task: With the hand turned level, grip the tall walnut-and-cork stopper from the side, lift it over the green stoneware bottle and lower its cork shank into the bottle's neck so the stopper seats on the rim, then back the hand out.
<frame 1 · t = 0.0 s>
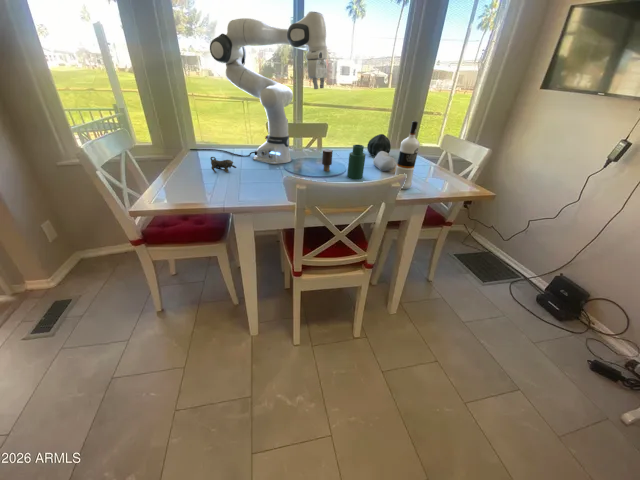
hand: (319, 88, 136), 39 cm above the table, tool pointing down, fingers open, 8 cm apart
vodka: (400, 186, 134), on the table
bottle: (354, 177, 143), on the table
dog figurine: (224, 171, 141), on the table
decorative stone: (384, 168, 158), on the table
stopper: (326, 170, 150), on the table
squash: (377, 156, 181), on the table
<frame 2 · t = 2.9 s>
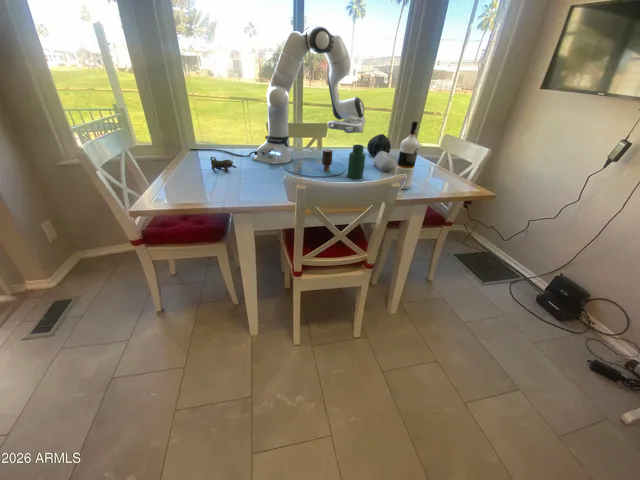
hand: (339, 128, 148), 20 cm above the table, tool horizontal, fingers open, 8 cm apart
nothing on the table moved.
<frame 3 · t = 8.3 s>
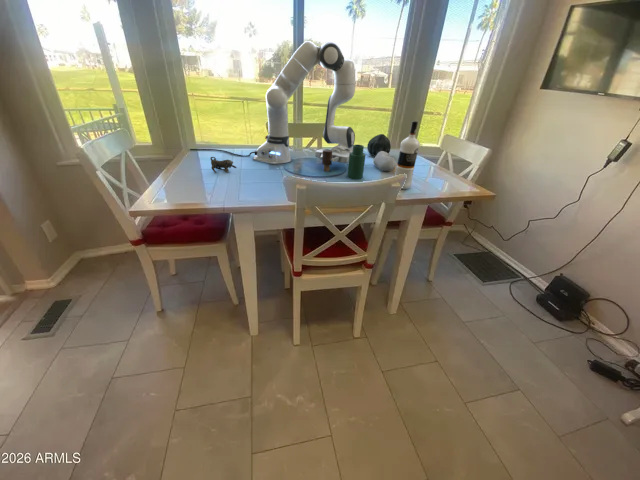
hand: (326, 159, 145), 7 cm above the table, tool horizontal, fingers closed on stopper, 5 cm apart
stopper: (326, 170, 150), on the table, touching gripper
everything else where it was.
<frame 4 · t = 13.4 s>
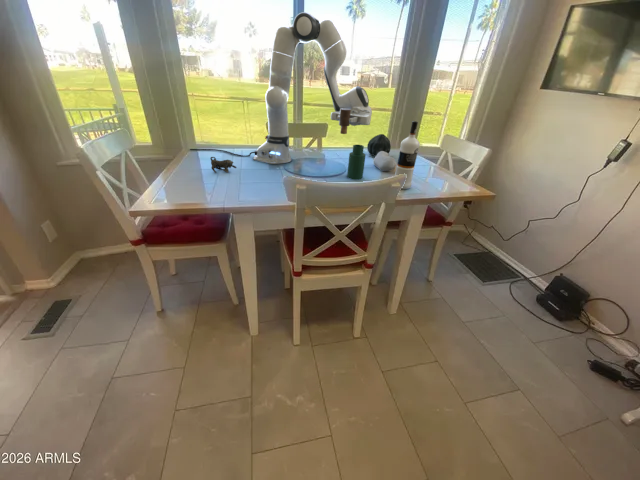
hand: (344, 119, 131), 27 cm above the table, tool horizontal, fingers closed on stopper, 5 cm apart
stopper: (343, 133, 135), point 21 cm above the table, touching gripper
everything else where it was.
when the fingers open (19 cm above the table, at t = 18.3 s): stopper stays where it is, resting on bottle.
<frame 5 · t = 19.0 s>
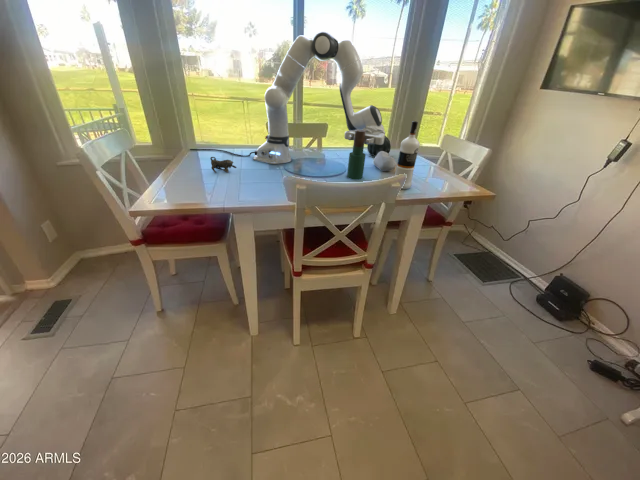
hand: (358, 139, 132), 19 cm above the table, tool horizontal, fingers open, 8 cm apart
stopper: (357, 153, 136), point 12 cm above the table, touching bottle
everything else where it was.
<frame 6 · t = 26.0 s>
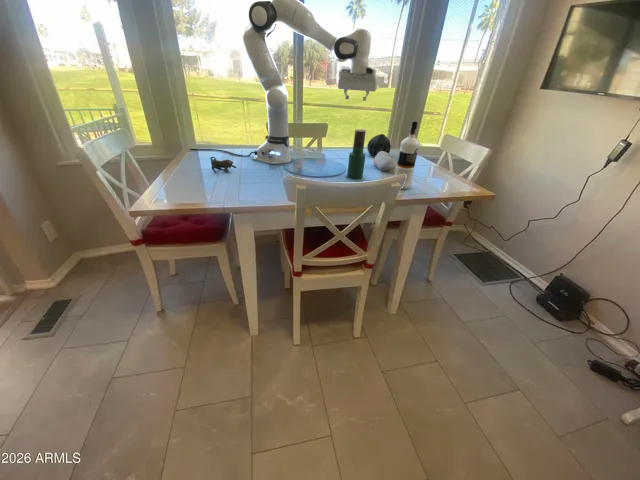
hand: (355, 100, 144), 34 cm above the table, tool pointing down, fingers open, 8 cm apart
nothing on the table moved.
at the end: stopper 0.0 cm off-centre in the bottle, point 12.2 cm above the bottle's base; stopper tilted 0°; the gripper is holding nothing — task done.
